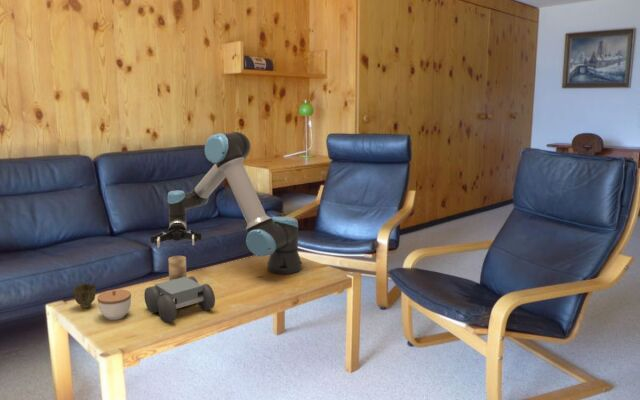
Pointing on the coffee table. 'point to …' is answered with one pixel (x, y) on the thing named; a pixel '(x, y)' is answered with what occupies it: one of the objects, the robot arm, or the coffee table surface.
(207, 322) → the coffee table surface
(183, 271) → the tan wooden cylinder
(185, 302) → the trolley
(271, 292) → the coffee table surface
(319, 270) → the coffee table surface
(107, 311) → the lidded jar
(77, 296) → the dark brown textured bowl
